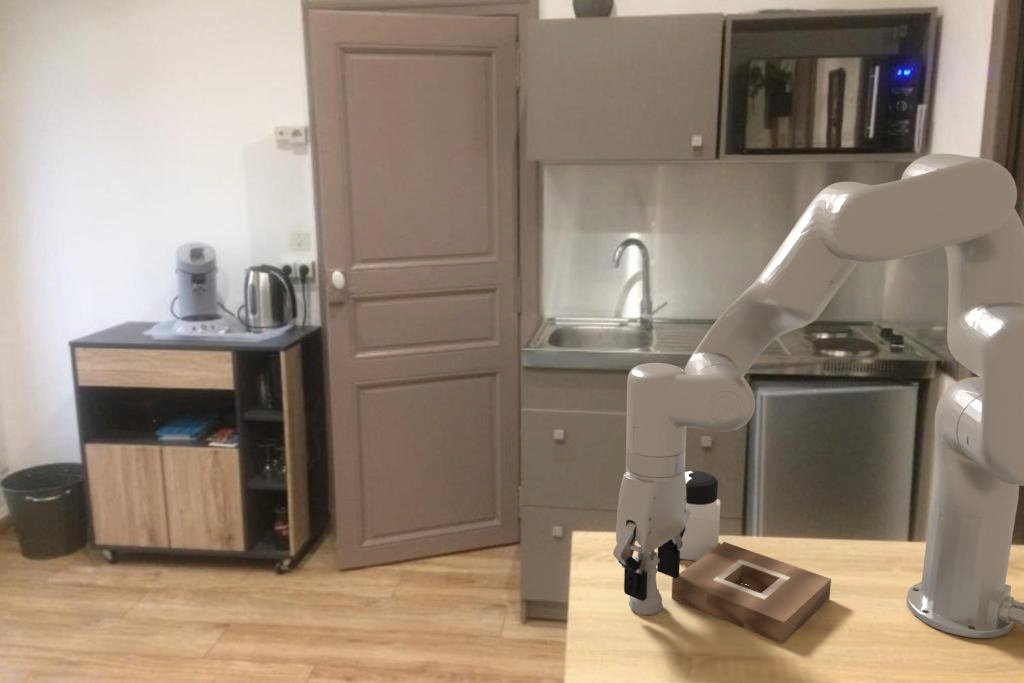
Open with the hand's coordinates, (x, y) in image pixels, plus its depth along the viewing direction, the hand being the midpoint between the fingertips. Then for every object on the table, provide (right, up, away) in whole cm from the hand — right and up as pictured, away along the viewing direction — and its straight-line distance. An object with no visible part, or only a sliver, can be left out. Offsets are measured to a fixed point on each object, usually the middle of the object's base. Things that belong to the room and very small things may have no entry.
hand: (651, 584), depth 117 cm
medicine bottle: (+9, +1, +16) cm, 18 cm away
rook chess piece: (-1, -3, 0) cm, 3 cm away
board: (+14, -3, +2) cm, 14 cm away
